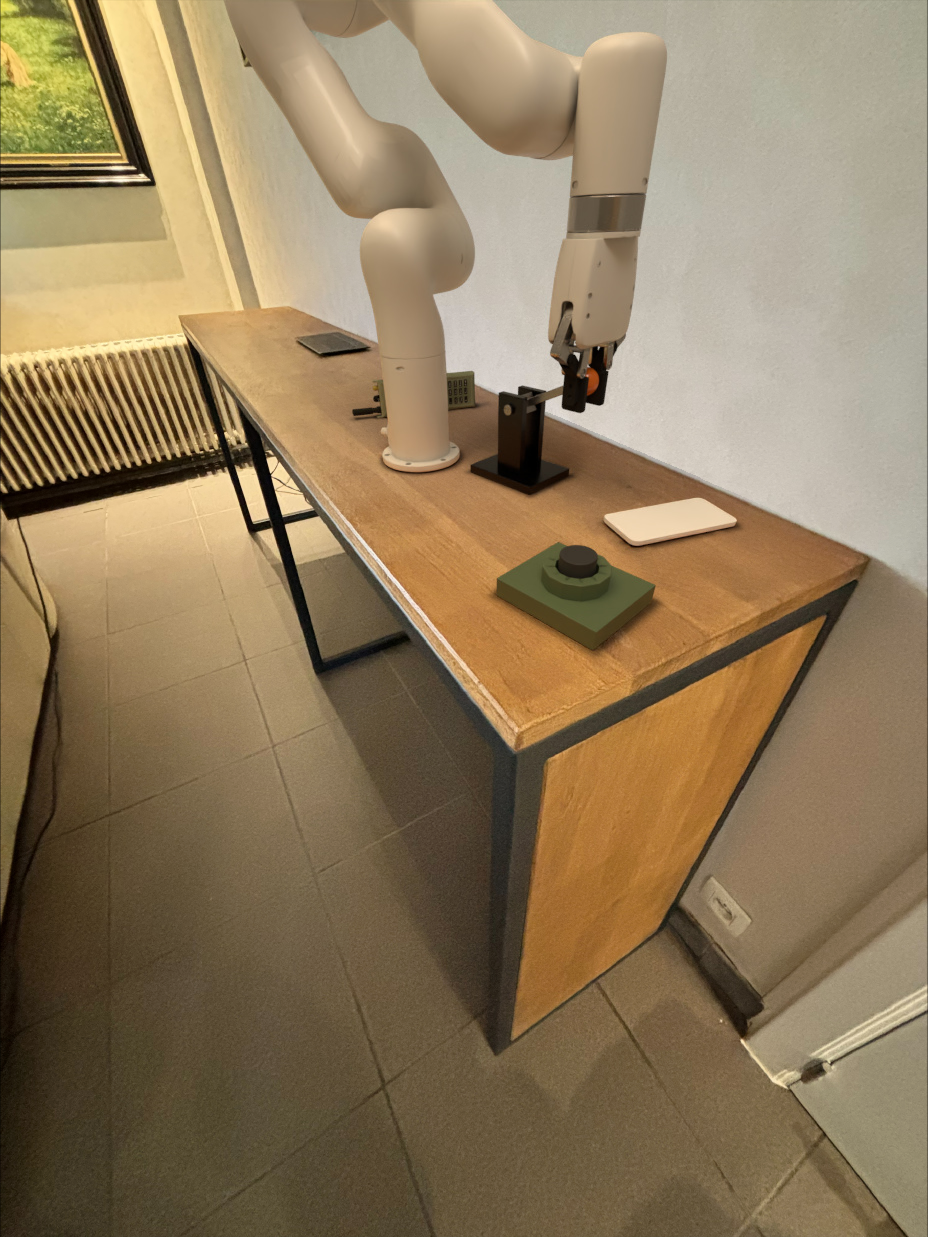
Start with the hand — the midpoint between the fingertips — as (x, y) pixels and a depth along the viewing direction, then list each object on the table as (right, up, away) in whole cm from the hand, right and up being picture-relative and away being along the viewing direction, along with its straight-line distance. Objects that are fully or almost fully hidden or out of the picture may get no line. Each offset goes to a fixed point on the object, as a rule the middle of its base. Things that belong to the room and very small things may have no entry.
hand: (582, 405), depth 62 cm
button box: (-4, -25, -12) cm, 28 cm away
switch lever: (-3, +1, +3) cm, 4 cm away
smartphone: (+11, -15, 0) cm, 18 cm away
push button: (-4, -22, -14) cm, 26 cm away
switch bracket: (-7, -5, +13) cm, 15 cm away
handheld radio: (-25, +15, +39) cm, 48 cm away
